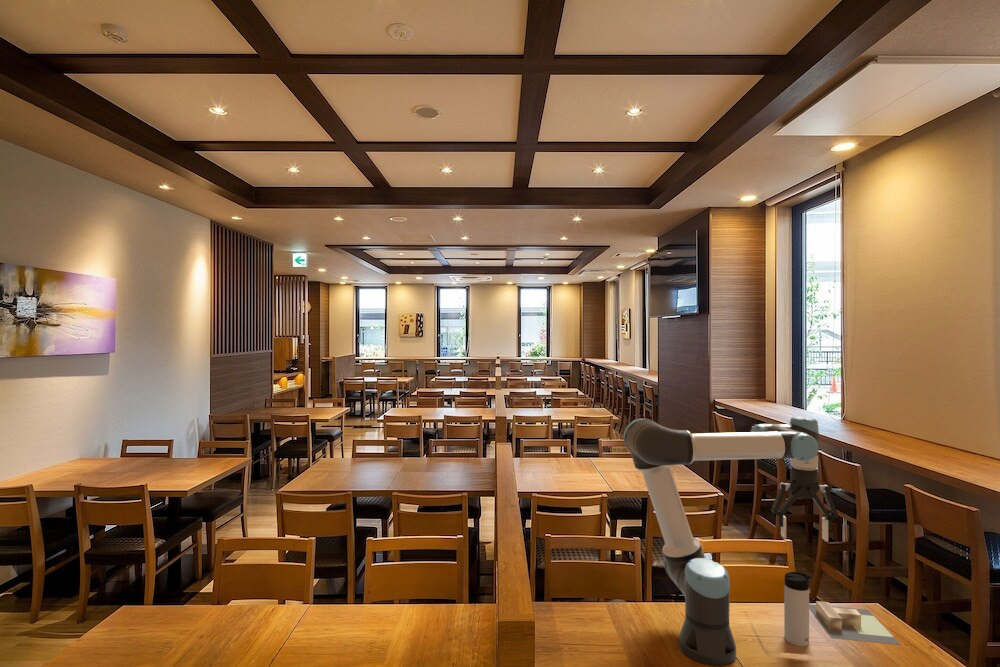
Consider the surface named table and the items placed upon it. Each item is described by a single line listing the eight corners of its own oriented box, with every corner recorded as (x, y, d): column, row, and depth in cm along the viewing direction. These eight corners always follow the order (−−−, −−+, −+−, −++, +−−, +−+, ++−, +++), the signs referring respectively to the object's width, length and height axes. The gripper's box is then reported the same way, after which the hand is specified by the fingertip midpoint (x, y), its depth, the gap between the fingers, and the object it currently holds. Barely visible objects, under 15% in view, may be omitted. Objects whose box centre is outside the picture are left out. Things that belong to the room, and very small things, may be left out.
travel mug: (813, 651, 151) (813, 580, 151) (788, 648, 152) (788, 578, 152) (806, 639, 157) (805, 570, 157) (781, 636, 158) (781, 568, 158)
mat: (831, 642, 156) (831, 637, 156) (806, 607, 175) (806, 604, 175) (901, 649, 152) (901, 644, 152) (867, 613, 172) (867, 609, 172)
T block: (829, 629, 160) (828, 617, 160) (816, 612, 170) (816, 601, 170) (866, 632, 158) (866, 620, 158) (851, 615, 168) (851, 604, 168)
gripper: (766, 468, 165) (766, 540, 165) (851, 472, 160) (851, 546, 160) (760, 462, 172) (759, 531, 172) (841, 466, 168) (841, 537, 168)
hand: (804, 538), depth 166 cm, fingers open, 11 cm apart
